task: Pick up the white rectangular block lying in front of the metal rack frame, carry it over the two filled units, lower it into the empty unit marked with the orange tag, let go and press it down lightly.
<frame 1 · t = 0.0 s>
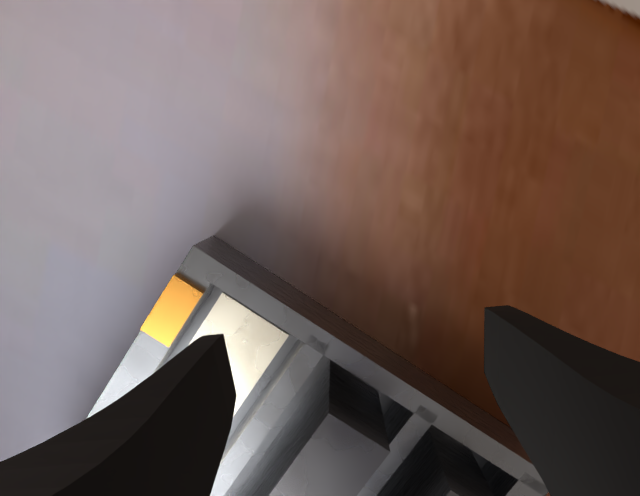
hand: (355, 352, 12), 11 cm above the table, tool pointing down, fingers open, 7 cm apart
rack: (292, 453, 24), on the table
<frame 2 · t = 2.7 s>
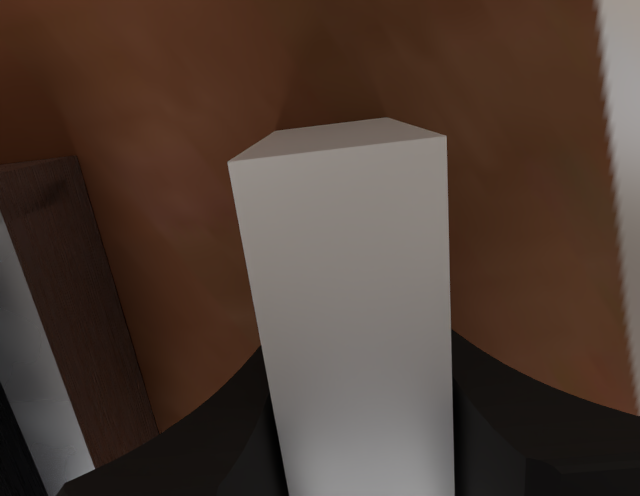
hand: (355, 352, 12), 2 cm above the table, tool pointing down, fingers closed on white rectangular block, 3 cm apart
white rectangular block: (351, 322, 14), on the table, touching gripper
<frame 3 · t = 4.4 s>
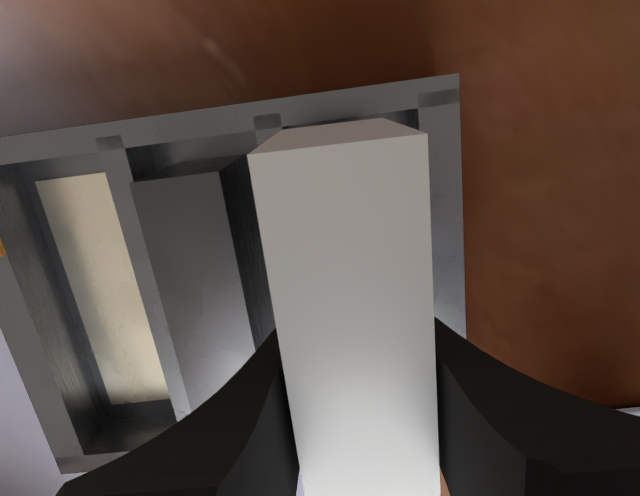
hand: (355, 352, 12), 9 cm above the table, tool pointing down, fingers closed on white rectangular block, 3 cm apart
rack: (241, 277, 22), on the table
white rectangular block: (350, 305, 15), point 6 cm above the table, touching gripper
when the fingers open (4 cm above the table, at t = 6.5 s): white rectangular block stays where it is, resting on rack.
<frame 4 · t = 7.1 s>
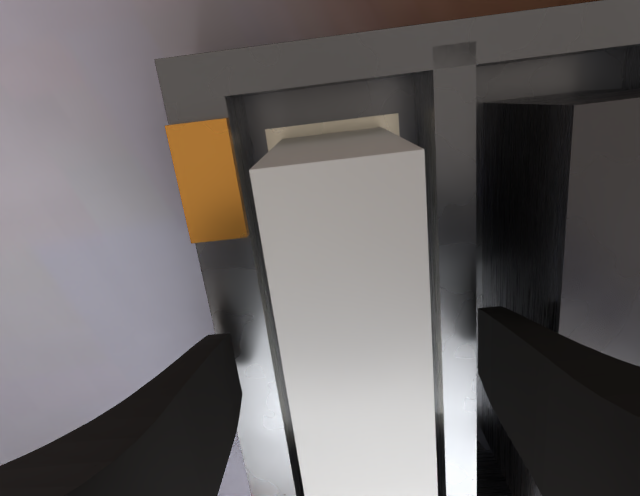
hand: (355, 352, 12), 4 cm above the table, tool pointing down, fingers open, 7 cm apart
rack: (517, 274, 15), on the table
white rectangular block: (350, 311, 15), point 1 cm above the table, touching rack
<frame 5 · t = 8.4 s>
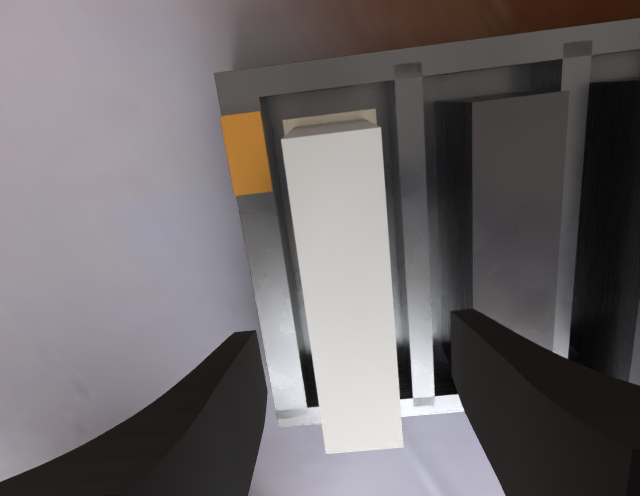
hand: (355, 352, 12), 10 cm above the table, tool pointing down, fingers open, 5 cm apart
rack: (465, 227, 21), on the table
white rectangular block: (343, 253, 21), point 1 cm above the table, touching rack
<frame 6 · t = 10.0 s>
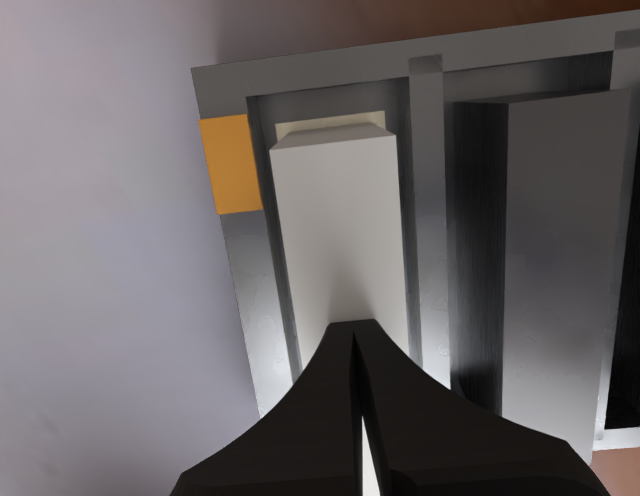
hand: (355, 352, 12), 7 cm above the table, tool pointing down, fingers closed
rack: (486, 246, 18), on the table
white rectangular block: (345, 277, 18), point 1 cm above the table, touching rack
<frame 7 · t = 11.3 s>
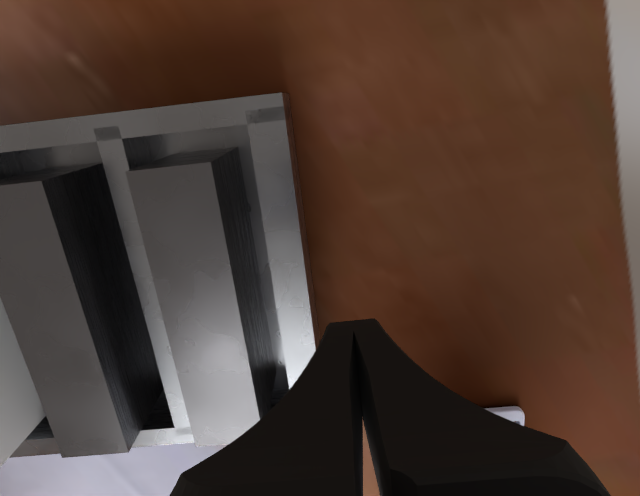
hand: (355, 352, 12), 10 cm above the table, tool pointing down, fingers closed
rack: (118, 277, 23), on the table
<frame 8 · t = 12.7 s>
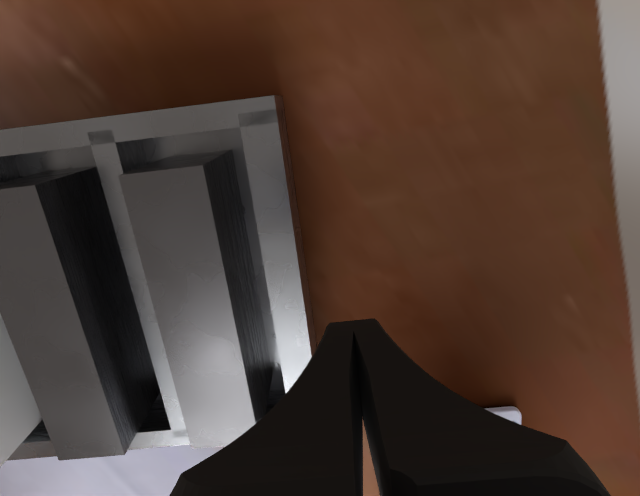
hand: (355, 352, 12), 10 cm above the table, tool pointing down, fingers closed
rack: (115, 280, 23), on the table
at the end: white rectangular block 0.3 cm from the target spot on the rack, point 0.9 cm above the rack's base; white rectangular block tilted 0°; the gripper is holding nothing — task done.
